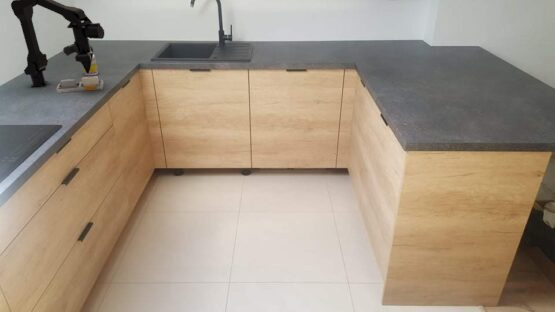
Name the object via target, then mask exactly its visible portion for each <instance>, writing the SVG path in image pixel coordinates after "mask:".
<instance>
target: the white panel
mask: <svg viewBox="0 0 555 312" xmlns="http://www.w3.org/2000/svg"><path fill="white" fill-rule="evenodd" d="M99 80H100V79H99V77H98V76H97V75H93V76H84V77H83V76H82V77H81V82H82V83H83V86H85V85H97V84H99Z"/></svg>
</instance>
